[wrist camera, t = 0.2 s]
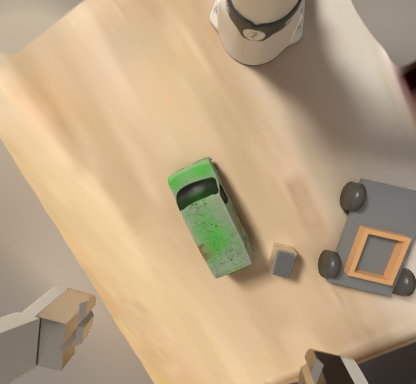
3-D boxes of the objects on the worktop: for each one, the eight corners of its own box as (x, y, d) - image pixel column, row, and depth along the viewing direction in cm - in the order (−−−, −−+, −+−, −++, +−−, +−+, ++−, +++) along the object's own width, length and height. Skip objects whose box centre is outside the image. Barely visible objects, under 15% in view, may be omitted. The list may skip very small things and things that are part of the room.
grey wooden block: (274, 242, 58) (278, 251, 53) (292, 246, 58) (298, 256, 53) (267, 264, 59) (271, 275, 54) (285, 268, 59) (290, 280, 54)
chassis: (347, 175, 53) (361, 179, 47) (429, 193, 53) (454, 199, 47) (314, 272, 58) (324, 286, 52) (389, 289, 58) (407, 306, 52)
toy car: (210, 154, 55) (207, 156, 45) (254, 247, 58) (260, 268, 49) (170, 174, 57) (157, 180, 47) (215, 263, 60) (212, 287, 50)
